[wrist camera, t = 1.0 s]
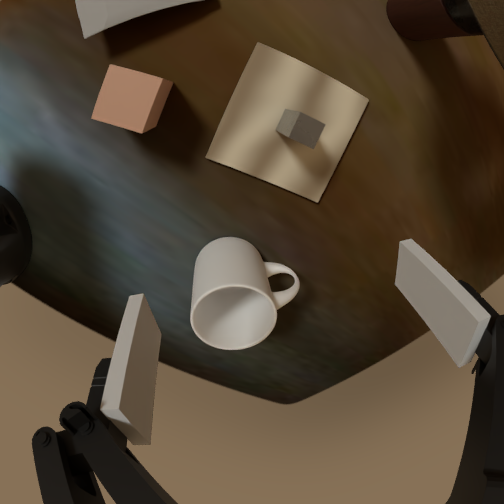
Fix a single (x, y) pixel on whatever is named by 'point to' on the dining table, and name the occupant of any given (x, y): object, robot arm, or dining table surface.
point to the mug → (235, 294)
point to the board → (269, 114)
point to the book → (117, 12)
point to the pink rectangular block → (131, 99)
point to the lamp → (450, 20)
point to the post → (300, 127)
